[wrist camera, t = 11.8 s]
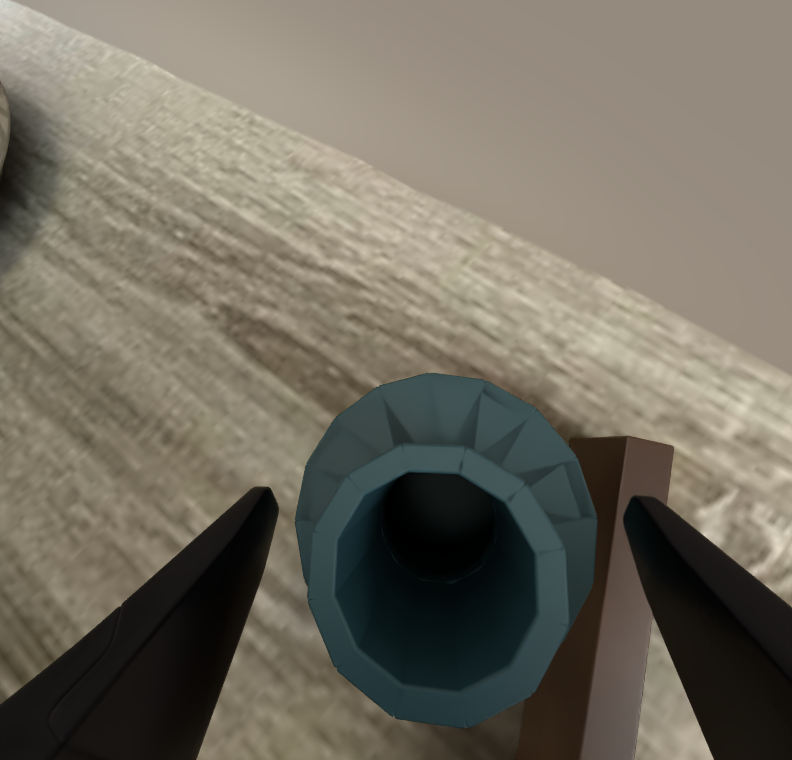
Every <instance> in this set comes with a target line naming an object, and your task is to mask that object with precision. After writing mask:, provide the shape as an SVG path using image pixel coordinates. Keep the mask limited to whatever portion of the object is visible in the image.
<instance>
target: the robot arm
mask: <svg viewBox="0 0 792 760" xmlns="http://www.w3.org/2000/svg"><path fill="white" fill-rule="evenodd" d="M278 514H279V506H278V503H277V501H276V499H275V497H274V494H273V492H272V490H271V488H269V487H262V486H257V487H254V488H252V489H251V490H249V491H248V492H247V493H246V494H245V495H244V496H243V497H242V498H240V499H239V500H238V501H237V502H236V503H235V504H234V505H233V506H231V507H230V508H229V509H228V510H227V511H226V512H225V513H224V514H222V515H221V516H220V517H219V518H218V519H217V520H216V521H215V522H213V523H212V524H211V525H210V526H209V527H208V528H207V529H206V530H204V531H203V532H202V533H201V534H200V535H199V536H198V537H197V538H195V539H194V540H193V541H192V542H191V543H190V544H189V545H188V546H186V547H185V548H184V549H183V550H182V551H181V552H180V553H179V554H177V555H176V556H175V557H174V558H173V559H172V560H171V561H170V562H168V563H167V564H166V565H165V566H164V567H163V568H162V569H161V570H159V571H158V572H157V573H156V574H155V575H154V576H153V577H152V578H150V579H149V580H148V581H147V582H146V583H145V584H144V585H143V586H141V587H140V588H139V589H138V590H137V591H136V592H135V593H133V594H132V595H131V596H130V597H129V598H128V599H127V600H126V601H124V602H123V603H122V605H121V606H120V607H118V608H116V609H115V610H114V611H113V612H112V613H111V614H110V615H109V616H107V617H106V618H105V619H104V620H103V621H102V622H101V623H100V624H98V625H97V626H96V627H95V628H94V629H93V630H91V631H90V632H89V633H88V634H87V635H86V636H84V637H83V638H82V639H81V640H80V641H79V642H77V643H76V644H75V645H74V646H73V647H72V648H70V649H69V650H68V651H67V652H65V653H64V654H63V655H62V656H60V657H59V658H58V659H57V660H56V661H54V662H53V663H52V664H51V665H49V666H48V667H47V668H46V669H45V670H43V671H42V672H41V673H40V674H38V675H37V676H36V677H35V678H33V679H32V680H31V681H29V682H28V683H27V684H26V685H24V686H23V687H22V688H21V689H19V690H18V691H17V692H16V693H14V694H13V695H12V696H11V697H9V698H8V699H7V700H6V701H4V702H3V703H2V704H1V705H0V760H196V759H197V756H198V754H199V751H200V748H201V745H202V742H203V740H204V737H205V734H206V731H207V729H208V726H209V723H210V720H211V717H212V715H213V712H214V709H215V706H216V703H217V701H218V698H219V695H220V692H221V690H222V687H223V684H224V681H225V678H226V676H227V673H228V670H229V667H230V665H231V662H232V659H233V656H234V653H235V651H236V648H237V645H238V642H239V640H240V637H241V634H242V631H243V628H244V626H245V623H246V620H247V617H248V614H249V612H250V609H251V606H252V603H253V601H254V598H255V595H256V592H257V589H258V587H259V584H260V581H261V578H262V575H263V572H264V569H265V565H266V562H267V558H268V554H269V550H270V546H271V542H272V538H273V534H274V530H275V526H276V522H277V518H278ZM623 525H624V529H625V532H626V535H627V538H628V542H629V545H630V548H631V552H632V555H633V558H634V562H635V565H636V568H637V572H638V575H639V578H640V581H641V584H642V587H643V590H644V593H645V596H646V598H647V601H648V604H649V606H650V608H651V611H652V613H653V615H654V618H655V620H656V623H657V625H658V627H659V630H660V632H661V635H662V637H663V639H664V642H665V644H666V646H667V649H668V651H669V654H670V656H671V658H672V661H673V663H674V666H675V668H676V670H677V673H678V675H679V677H680V680H681V682H682V685H683V687H684V689H685V692H686V694H687V697H688V699H689V701H690V704H691V706H692V708H693V711H694V713H695V716H696V718H697V720H698V723H699V725H700V727H701V730H702V732H703V735H704V737H705V739H706V742H707V744H708V747H709V749H710V751H711V754H712V756H713V758H714V760H792V607H791V606H790V605H788V604H787V603H786V602H785V601H784V600H782V599H781V598H780V597H779V596H777V595H776V594H775V593H774V592H772V591H771V590H770V589H769V588H768V587H766V586H765V585H764V584H763V583H761V582H760V581H759V580H758V579H756V578H755V577H754V576H753V575H752V574H750V573H749V572H748V571H747V570H745V569H744V568H743V567H742V566H740V565H739V564H738V563H737V562H735V561H734V560H733V559H732V558H731V557H729V556H728V555H727V554H726V553H724V552H723V551H722V550H721V549H719V548H718V547H717V546H716V545H715V544H713V543H712V542H711V541H710V540H708V539H707V538H706V537H705V536H703V535H702V534H701V533H700V532H699V531H697V530H696V529H695V528H694V527H692V526H691V525H690V524H689V523H687V522H686V521H685V520H684V519H683V518H681V517H680V516H679V515H678V514H676V513H675V512H674V511H673V510H671V509H670V508H669V507H668V506H666V505H665V504H664V503H663V502H662V501H660V500H659V499H658V498H656V497H655V496H653V495H639V494H636V495H633V496H632V497H631V498H630V501H629V503H628V505H627V508H626V510H625V512H624V515H623Z"/></svg>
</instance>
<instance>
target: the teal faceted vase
mask: <svg viewBox="0 0 792 760" xmlns="http://www.w3.org/2000/svg"><path fill="white" fill-rule="evenodd" d="M596 518H597V514H596V512H595V509H594V506H593V503H592V500H591V497H590V494H589V491H588V488H587V485H586V482H585V479H584V476H583V473H582V470H581V467H580V464H579V461H578V458H577V457H576V455H575V453H574V452H573V451H572V450H571V449H570V447H569V446H568V445H567V444H566V443H565V442H564V440H563V439H562V438H561V437H560V436H559V434H558V433H557V432H556V431H555V430H554V428H553V427H552V426H551V425H550V424H549V422H548V421H547V420H546V419H545V418H544V416H543V415H542V414H541V413H540V412H539V410H537V409H536V408H535V407H533V406H532V405H530V404H528V403H526V402H524V401H523V400H521V399H519V398H517V397H515V396H514V395H512V394H510V393H508V392H506V391H505V390H503V389H501V388H499V387H497V386H496V385H494V384H492V383H490V382H488V381H484V380H483V379H475V378H468V377H460V376H453V375H445V374H437V373H426V374H422V375H418V376H414V377H411V378H407V379H403V380H399V381H395V382H391V383H387V384H383V385H380V386H379V387H376V388H374V389H373V390H372V391H370V392H369V393H368V394H366V395H365V396H364V397H362V398H361V399H360V400H358V401H357V402H355V403H354V404H353V405H351V406H350V407H349V408H347V409H346V410H345V411H343V412H342V413H341V414H339V415H338V416H337V417H336V419H334V420H333V422H332V423H331V425H330V426H329V428H328V430H327V431H326V433H325V434H324V436H323V438H322V439H321V441H320V442H319V444H318V446H317V447H316V449H315V450H314V452H313V454H312V455H311V457H310V458H309V460H308V462H307V465H306V466H305V471H304V476H303V481H302V486H301V491H300V496H299V501H298V506H297V511H296V516H295V520H296V521H295V526H296V532H297V539H298V545H299V551H300V557H301V564H302V570H303V576H304V579H305V583H306V584H307V586H308V593H307V598H308V599H309V600H308V604H309V607H310V609H311V611H312V614H313V616H314V619H315V621H316V624H317V626H318V628H319V631H320V633H321V636H322V638H323V641H324V643H325V645H326V648H327V650H328V653H329V655H330V658H331V660H332V663H333V665H334V667H335V668H337V671H338V672H339V673H340V674H341V675H342V676H344V677H345V678H346V679H347V680H348V681H349V682H351V683H352V684H353V685H354V686H355V687H357V688H358V689H359V690H360V691H361V692H363V693H364V694H365V695H366V696H367V697H369V698H370V699H371V700H372V701H373V702H375V703H376V704H377V705H378V706H379V707H381V708H382V709H383V710H384V711H385V712H386V713H388V714H389V715H390V716H392V717H393V716H395V718H396V719H400V720H407V721H414V722H421V723H428V724H435V725H442V726H448V727H455V728H462V729H464V728H466V727H468V728H471V727H473V726H475V725H477V724H479V723H481V722H482V721H484V720H486V719H488V718H490V717H492V716H494V715H496V714H498V713H500V712H502V711H504V710H506V709H508V708H510V707H512V706H514V705H515V704H517V703H519V702H521V701H523V700H525V699H527V698H529V697H530V696H531V695H532V693H534V692H535V691H536V689H537V688H538V686H539V684H540V682H541V680H542V678H543V676H544V674H545V672H546V671H547V669H548V667H549V665H550V663H551V661H552V659H553V657H554V655H555V653H556V652H557V650H558V648H559V646H560V645H561V644H562V643H561V642H563V641H564V640H565V638H566V636H567V634H568V632H569V630H570V628H571V627H572V625H573V623H574V621H575V619H576V617H577V615H578V613H579V611H580V610H581V608H582V606H583V604H584V602H585V600H586V598H587V596H588V594H589V592H590V591H591V589H592V586H593V585H592V584H593V583H594V568H595V553H596V538H597V522H598V520H597V519H596Z"/></svg>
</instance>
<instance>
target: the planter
mask: <svg viewBox="0 0 792 760" xmlns="http://www.w3.org/2000/svg"><path fill="white" fill-rule="evenodd" d="M9 137H10V108H9V103H8V99H7V95H6V93H5V90H4V87H3V86H2V84H1V82H0V183H1V178H2V172H3V164H4V160H5V157H6V153H7V149H8V144H9Z"/></svg>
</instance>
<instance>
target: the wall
mask: <svg viewBox="0 0 792 760" xmlns="http://www.w3.org/2000/svg"><path fill="white" fill-rule="evenodd" d="M570 449H571V450H572V451H573V452H574V453H575V455H576V457H577V458H578V461H579V464H580V467H581V470H582V473H583V476H584V479H585V482H586V485H587V488H588V491H589V494H590V497H591V500H592V503H593V506H594V509H595V512H596V514H597V518H596V519H597V520H598V522H597V538H596V553H595V568H594V583H593V584H592V585H593V586H592V589H591V591H590V592H589V594H588V596H587V598H586V600H585V602H584V604H583V606H582V608H581V610H580V611H579V613H578V615H577V617H576V619H575V621H574V623H573V625H572V627H571V628H570V630H569V632H568V634H567V636H566V638H565V640H564V641H563V642H561V643H562V644H561V645H560V646H559V648H558V650H557V652H556V653H555V655H554V657H553V659H552V661H551V663H550V665H549V667H548V669H547V671H546V672H545V674H544V676H543V678H542V680H541V682H540V684H539V686H538V688H537V689H536V691H535V692H534V693H532V695H531V696H530V697H529V698H527V699H526V703H525V708H524V714H523V720H522V726H521V732H520V738H519V743H518V749H517V755H516V760H634V757H635V749H636V742H637V734H638V726H639V718H640V710H641V702H642V695H643V687H644V679H645V671H646V663H647V656H648V648H649V640H650V632H651V624H652V616H653V613H652V611H651V608H650V606H649V604H648V601H647V598H646V596H645V593H644V590H643V587H642V584H641V581H640V578H639V575H638V572H637V568H636V565H635V562H634V558H633V555H632V552H631V548H630V545H629V542H628V538H627V535H626V532H625V529H624V525H623V515H624V512H625V510H626V508H627V505H628V503H629V501H630V498H631V497H632V496H633V495H636V494H639V495H653V496H655V497H656V498H658V499H659V500H660V501H662V502H663V503H664V504H665V505H666V506H667V499H668V491H669V483H670V476H671V468H672V460H673V452H674V447H673V446H672V445H667V444H663V443H658V442H654V441H649V440H645V439H641V438H636V437H632V436H612V437H592V438H573V439H571V441H570Z"/></svg>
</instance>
